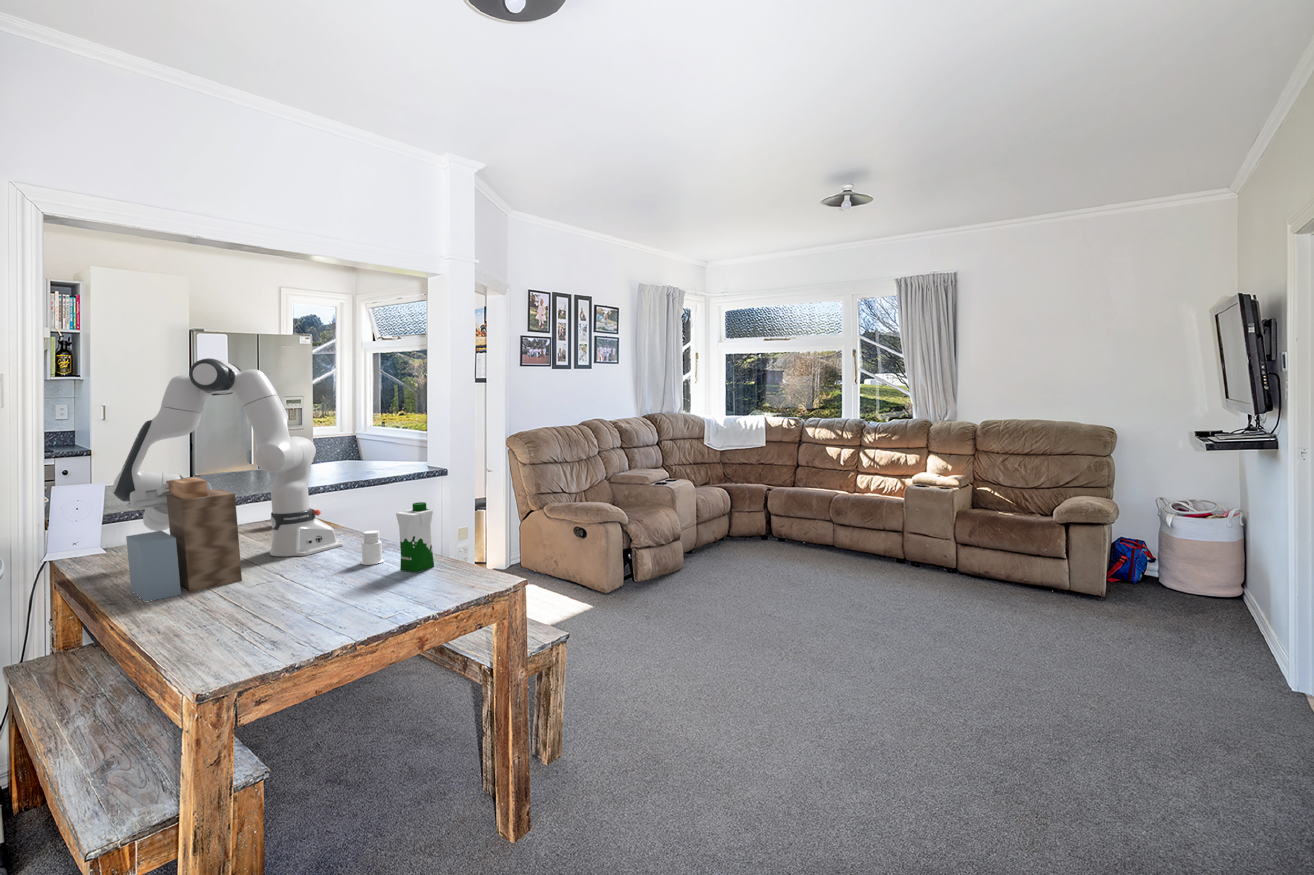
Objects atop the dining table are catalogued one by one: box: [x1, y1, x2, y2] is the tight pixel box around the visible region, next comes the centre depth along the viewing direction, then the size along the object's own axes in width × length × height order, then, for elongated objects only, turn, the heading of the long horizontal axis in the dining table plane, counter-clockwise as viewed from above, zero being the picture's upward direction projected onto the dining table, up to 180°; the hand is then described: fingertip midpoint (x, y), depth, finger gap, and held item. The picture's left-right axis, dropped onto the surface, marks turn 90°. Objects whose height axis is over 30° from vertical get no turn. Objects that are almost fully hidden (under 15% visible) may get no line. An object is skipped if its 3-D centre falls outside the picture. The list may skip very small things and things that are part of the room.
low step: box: [125, 530, 182, 603], centre depth 181 cm, size 8×14×16 cm, turn 50°
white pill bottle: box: [360, 530, 385, 566], centre depth 208 cm, size 8×7×10 cm
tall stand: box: [166, 488, 243, 593], centre depth 190 cm, size 13×14×26 cm
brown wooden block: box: [166, 476, 208, 499], centre depth 190 cm, size 6×21×4 cm, turn 50°
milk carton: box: [395, 501, 435, 573], centre depth 200 cm, size 9×9×20 cm
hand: (177, 484), depth 194 cm, fingers closed on brown wooden block, 3 cm apart
